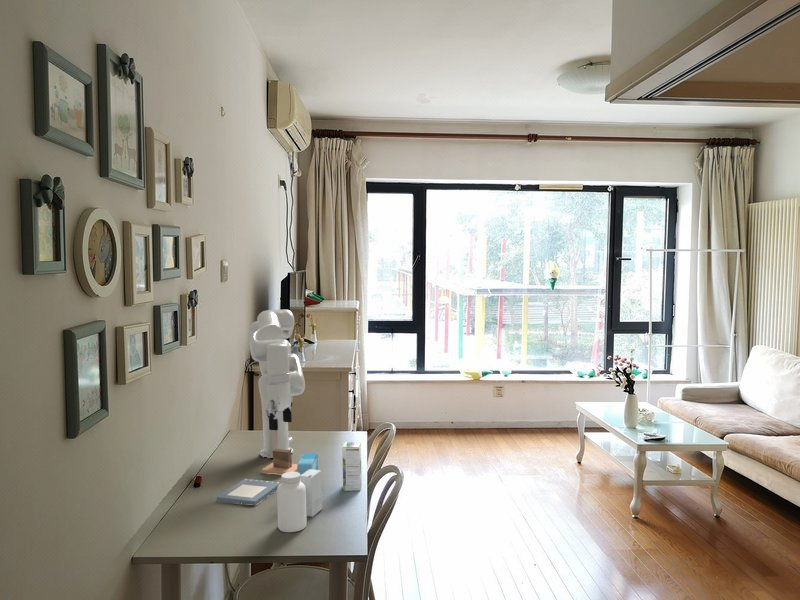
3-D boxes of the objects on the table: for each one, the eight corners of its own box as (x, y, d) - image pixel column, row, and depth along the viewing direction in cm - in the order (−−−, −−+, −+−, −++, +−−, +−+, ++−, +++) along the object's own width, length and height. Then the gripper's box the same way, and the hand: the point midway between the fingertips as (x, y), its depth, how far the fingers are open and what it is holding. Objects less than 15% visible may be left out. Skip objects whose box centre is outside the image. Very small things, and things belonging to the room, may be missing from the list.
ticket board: (244, 483, 204) (244, 478, 204) (281, 486, 200) (281, 482, 200) (216, 501, 189) (216, 496, 189) (255, 506, 185) (255, 501, 185)
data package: (313, 502, 186) (311, 464, 185) (298, 502, 186) (296, 464, 186) (319, 487, 198) (317, 451, 197) (305, 487, 198) (303, 452, 197)
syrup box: (344, 484, 200) (342, 441, 199) (362, 484, 200) (360, 441, 199) (343, 491, 194) (341, 447, 193) (361, 490, 194) (359, 446, 193)
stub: (273, 466, 220) (272, 445, 220) (303, 468, 217) (302, 448, 216) (262, 473, 213) (261, 452, 212) (292, 476, 209) (291, 455, 208)
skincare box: (310, 507, 182) (308, 468, 182) (323, 509, 181) (322, 469, 180) (299, 515, 177) (298, 475, 176) (313, 517, 175) (311, 476, 174)
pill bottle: (308, 530, 167) (306, 477, 166) (279, 535, 165) (276, 481, 164) (305, 518, 174) (302, 468, 173) (276, 523, 172) (274, 471, 171)
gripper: (281, 372, 222) (283, 418, 223) (256, 383, 205) (258, 432, 207) (299, 373, 219) (301, 419, 221) (275, 384, 203) (277, 434, 205)
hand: (280, 425), depth 214 cm, fingers open, 9 cm apart
